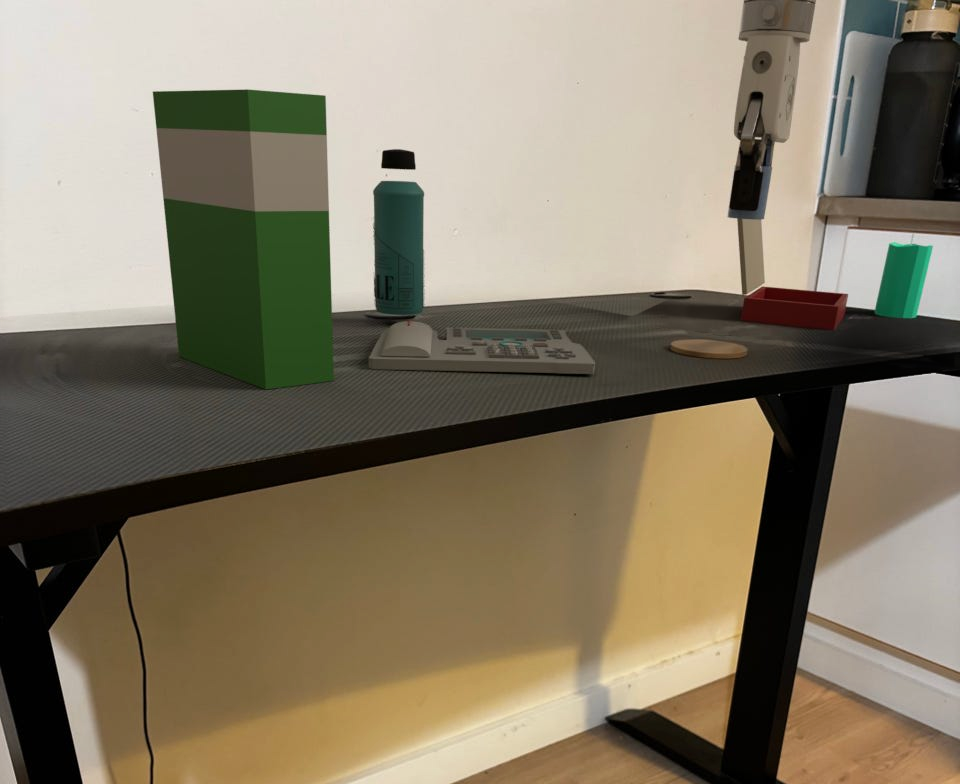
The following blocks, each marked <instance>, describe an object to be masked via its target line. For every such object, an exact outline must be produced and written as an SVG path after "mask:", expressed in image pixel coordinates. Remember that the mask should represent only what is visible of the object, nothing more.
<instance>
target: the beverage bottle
mask: <svg viewBox="0 0 960 784" xmlns="http://www.w3.org/2000/svg"><path fill="white" fill-rule="evenodd" d="M416 166H417V165H416V155H415V152H414V151H411V150H407V149H400V148H394V149H393V148H392V149H384V150H382V152H381V162H380V168H381V169H386V170H404V171H405V170H406V171H407V170H408V171H409V170H411V171H412V170H413V171H414V170H416V169H417V168H416ZM372 194H373V219H372V220H373V221H372V222H373V224H372V229H373V230H372V233H373V235H372V238H373V245H374V246H373V247H374V250H373V251H374V260H373V261H374V263H373V264H374V276H373V297H374V304H373V305H374V306H375V310H376V312H377V313H380V314H384V315H392V316H393V315H394V316H395V315H396V316H411V315H412V316H414V315H418V314H419V315H420V314H422V313H423V311H424V307H425V300H426V297H425V295H426V290H425V286H426V285H425V283H426V280H425V278H426V276H425V275H426V274H425V260H426V258H425V254H426V253H425V250H424V205H425V204H424V202H425V201H424V199H425V191H424V190H423V188H422V187H421V186H420V185H419V184H418V182H416V181H410V180H409V181H407V180H381V181H380V182H379V183H377V185H376V186H375V187H374V188H373V190H372Z"/></svg>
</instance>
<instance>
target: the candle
mask: <svg viewBox="0 0 960 784" xmlns="http://www.w3.org/2000/svg"><path fill="white" fill-rule="evenodd" d="M914 235H915V232H913V233H912V236H911V240H910V243H908V244H907V243H906V244H903V243H899V242H896V241H894V242H890V243H888V248H887V252H886V256H885V257H886V258H885V262H884V266H883V270H882V275H881V278H880V279H881V280H880V284H879V289H878V294H877V298H876V303H875V307H874V314H875V315H877V316H881V317H887V318H895V319H914V318H915V319H916V318H917V315H918V311H919V307H920V303H921V299H922V295H923V291H924V286H925V282H926V278H927V273H928V270H929V266H930V265H929V264H930V261H931V256H932V253H933V247H934V245H930V244H929V245H921V244H917V243H913V240H914Z"/></svg>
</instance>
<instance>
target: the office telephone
mask: <svg viewBox="0 0 960 784" xmlns="http://www.w3.org/2000/svg"><path fill="white" fill-rule="evenodd" d="M438 336H439V335H438V330H434V329H433V328H432V327H431V326H430V325H429V324H427V323H424V322H421V321H415V320H413V321H412V320H411V319H408V320H407V321H406V320H405V321H399V322H396V323H394V324H392V325H390V326H389V328H388V329H385V330H383V331H382V333H381V335H380V337H379V338H378V339H377V341H376V342H375V344H374V346H373V349H372V351H371V353H370V355H369V356H368V369H370V370H395V371H396V370H397V371H439V372H440V371H443V372H445V371H448V372H486V373H487V372H488V373H489V372H490V373H491V372H493V373H496V372H497V373H541V374H543V373H544V374H567V375H570V374H571V375H594V374H595V366H596V362H595V360H594V359H593V357H592V356H591V355H590V354H589V352H588V351H587V350H586V348H584V346H583V345H582V344H580V343H575V342H572V340H570V338H569V337H568V336H567V330H563V329H537V328H536V329H532V328H498V327H497V328H495V327H494V328H493V327H491V328H489V327H445V328H444V338H446V339H439V337H438Z"/></svg>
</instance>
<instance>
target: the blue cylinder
mask: <svg viewBox="0 0 960 784" xmlns="http://www.w3.org/2000/svg"><path fill="white" fill-rule="evenodd" d="M735 168H736V164H735V165H734V169H733V170H734V171H736V169H735ZM734 171H733V172H734ZM761 172H764V174H763V181H762V187H761V193H760V199H759V206H758V209H757V210H756V211H744V210H731V209H730V208H729V207H728V209H727V216H726V217H727V218H729V219H755V220H761V221H762V220H765V215H766V210H767V209H766V208H767V204H768V197H769V191H770V185H771V178H772V174H773V173H772V172H773V166H771V167H767V166H762V169H761ZM733 177H734V174H733V175H732V178H733ZM732 184H733V181H732V182H731V185H732ZM731 191H732V188H731V189H730V192H731ZM730 198H731V195H729V199H730ZM729 204H730V201H729ZM729 204H728V205H729Z"/></svg>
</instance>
